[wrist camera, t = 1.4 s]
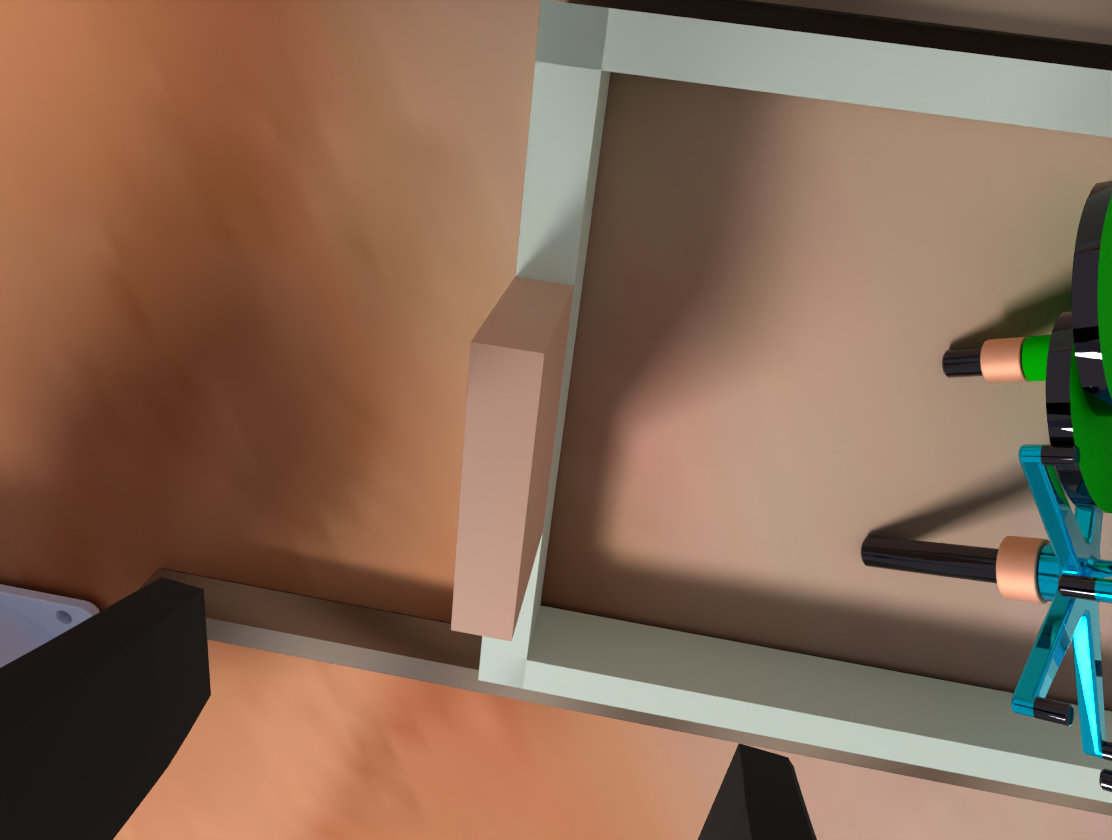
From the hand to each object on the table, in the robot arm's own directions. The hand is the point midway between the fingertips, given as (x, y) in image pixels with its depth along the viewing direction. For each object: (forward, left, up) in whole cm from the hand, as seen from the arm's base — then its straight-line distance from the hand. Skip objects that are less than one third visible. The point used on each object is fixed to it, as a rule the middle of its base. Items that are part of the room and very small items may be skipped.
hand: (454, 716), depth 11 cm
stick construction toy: (+11, +1, -11) cm, 15 cm away
